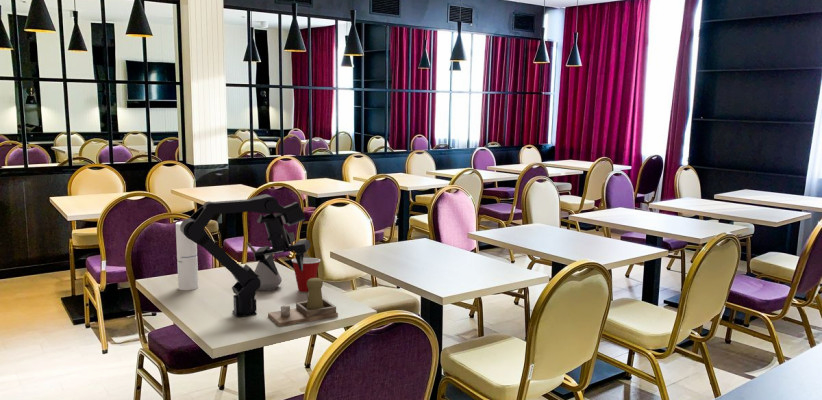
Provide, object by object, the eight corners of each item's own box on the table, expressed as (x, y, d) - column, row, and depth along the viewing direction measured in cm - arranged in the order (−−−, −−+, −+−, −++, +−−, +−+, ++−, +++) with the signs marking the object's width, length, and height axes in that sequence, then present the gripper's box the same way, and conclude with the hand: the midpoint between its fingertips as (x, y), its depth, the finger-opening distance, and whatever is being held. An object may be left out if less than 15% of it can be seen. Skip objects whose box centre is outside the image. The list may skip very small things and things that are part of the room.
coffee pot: (287, 288, 238) (286, 249, 236) (259, 293, 231) (258, 254, 229) (261, 276, 255) (260, 240, 252) (234, 281, 247) (233, 244, 245)
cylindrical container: (194, 290, 234) (191, 224, 231) (175, 290, 234) (172, 224, 231) (201, 285, 241) (198, 221, 238) (182, 284, 241) (180, 220, 238)
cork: (315, 314, 204) (314, 282, 203) (302, 311, 208) (301, 279, 206) (328, 310, 209) (327, 278, 208) (314, 306, 213) (314, 275, 211)
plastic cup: (325, 287, 240) (325, 256, 239) (313, 295, 230) (313, 263, 228) (299, 284, 243) (299, 254, 241) (286, 292, 233) (286, 261, 231)
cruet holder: (279, 326, 197) (278, 313, 196) (268, 316, 206) (267, 303, 206) (337, 316, 207) (337, 304, 206) (324, 307, 216) (324, 295, 216)
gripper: (309, 217, 216) (321, 258, 221) (259, 226, 220) (272, 267, 224) (299, 229, 206) (312, 272, 210) (247, 238, 210) (261, 280, 214)
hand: (289, 272), depth 215 cm, fingers open, 9 cm apart
